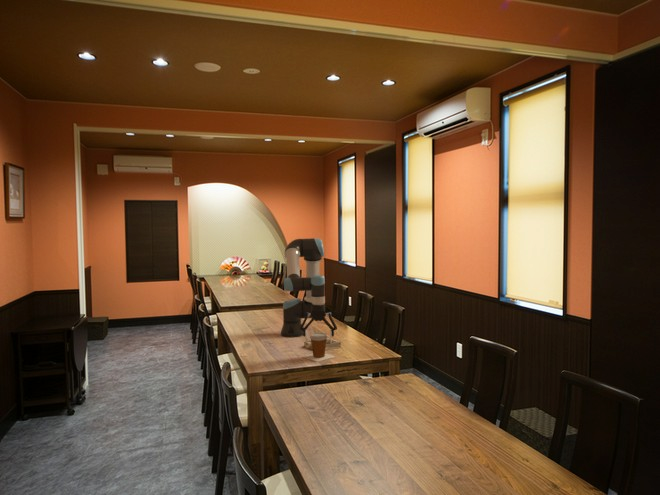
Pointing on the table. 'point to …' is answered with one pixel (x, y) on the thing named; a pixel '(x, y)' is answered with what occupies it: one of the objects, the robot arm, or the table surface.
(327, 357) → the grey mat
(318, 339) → the disposable coffee cup
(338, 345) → the square wooden tray
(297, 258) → the robot arm
